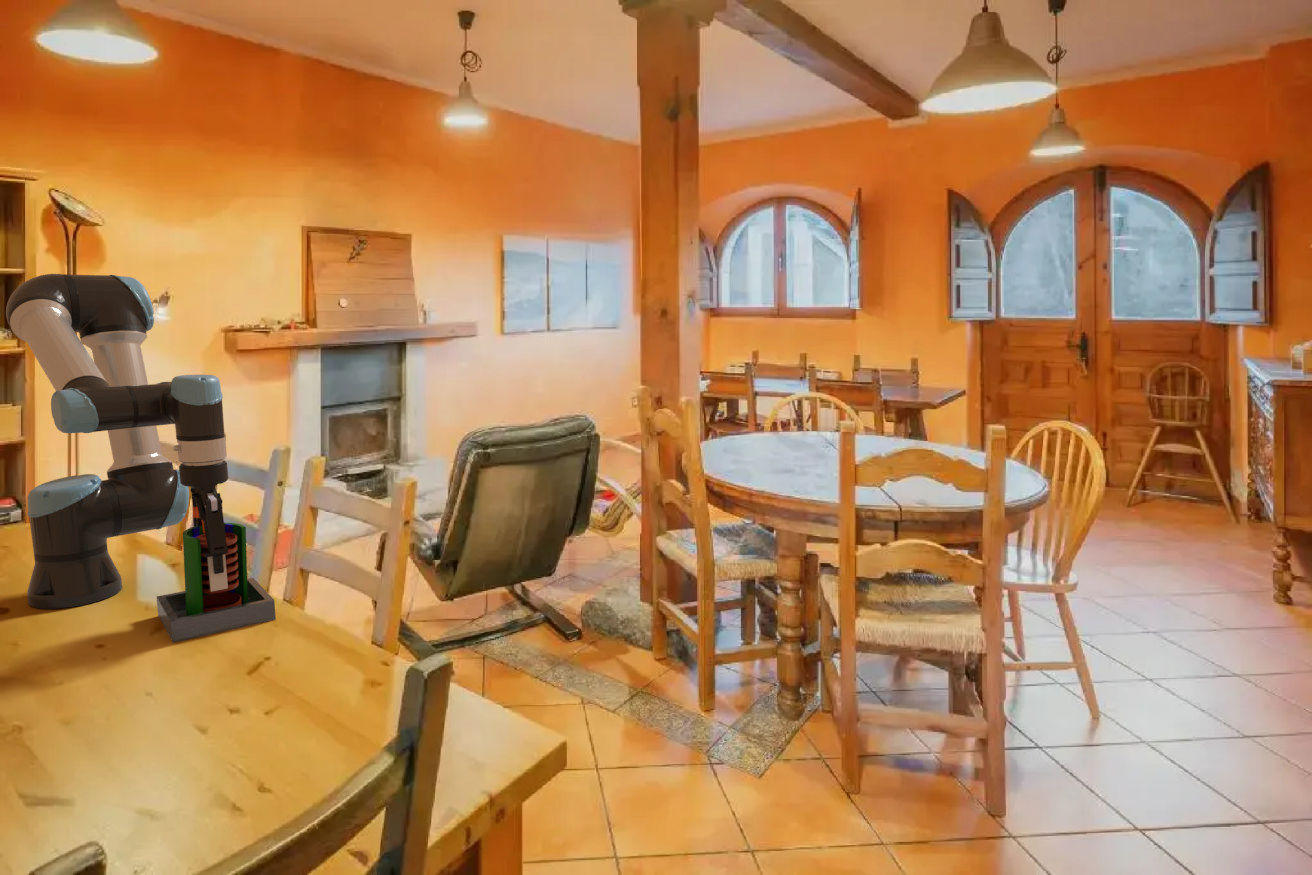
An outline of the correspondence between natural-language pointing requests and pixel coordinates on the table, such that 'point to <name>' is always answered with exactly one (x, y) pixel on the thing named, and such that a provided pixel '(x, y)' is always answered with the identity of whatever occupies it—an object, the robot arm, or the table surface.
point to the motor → (198, 574)
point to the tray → (214, 614)
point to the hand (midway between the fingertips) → (213, 582)
